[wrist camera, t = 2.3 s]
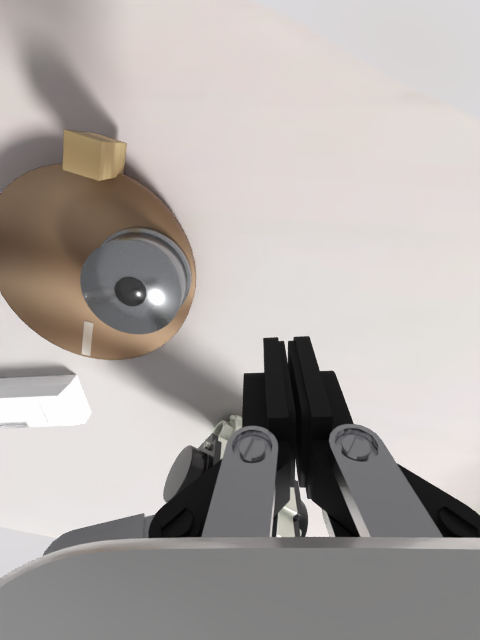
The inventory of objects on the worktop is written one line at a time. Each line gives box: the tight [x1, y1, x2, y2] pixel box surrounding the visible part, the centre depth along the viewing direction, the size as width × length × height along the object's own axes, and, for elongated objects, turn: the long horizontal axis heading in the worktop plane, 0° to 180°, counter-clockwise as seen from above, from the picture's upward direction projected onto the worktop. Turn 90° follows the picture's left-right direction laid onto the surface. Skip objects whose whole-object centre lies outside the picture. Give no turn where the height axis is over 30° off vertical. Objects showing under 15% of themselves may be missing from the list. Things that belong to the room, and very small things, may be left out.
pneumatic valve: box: [163, 414, 308, 537], centre depth 28 cm, size 6×12×12 cm, turn 54°
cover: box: [80, 226, 192, 334], centre depth 22 cm, size 7×7×4 cm
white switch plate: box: [0, 374, 91, 429], centre depth 31 cm, size 5×9×3 cm, turn 94°
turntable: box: [0, 130, 196, 360], centre depth 23 cm, size 17×15×4 cm
